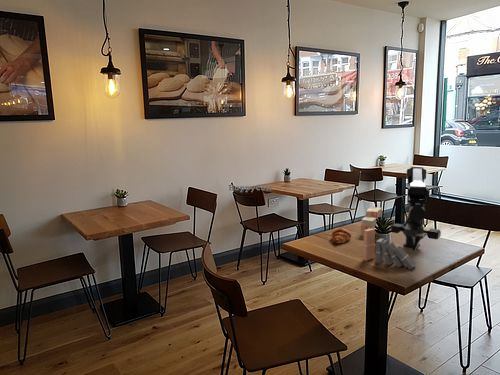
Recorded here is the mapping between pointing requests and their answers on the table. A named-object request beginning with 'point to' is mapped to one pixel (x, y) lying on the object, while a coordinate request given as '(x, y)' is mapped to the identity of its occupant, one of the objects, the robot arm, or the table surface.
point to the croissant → (340, 235)
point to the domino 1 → (368, 244)
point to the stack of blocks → (370, 218)
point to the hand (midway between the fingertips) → (414, 250)
